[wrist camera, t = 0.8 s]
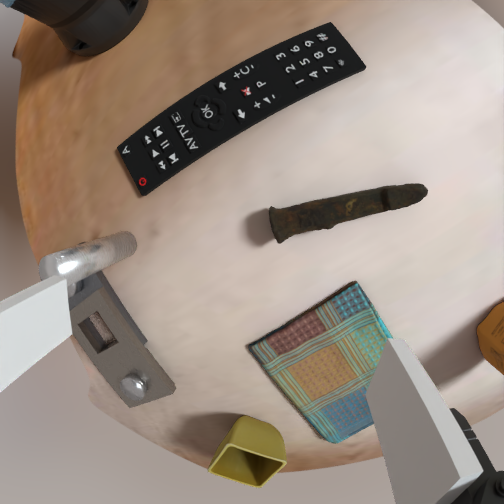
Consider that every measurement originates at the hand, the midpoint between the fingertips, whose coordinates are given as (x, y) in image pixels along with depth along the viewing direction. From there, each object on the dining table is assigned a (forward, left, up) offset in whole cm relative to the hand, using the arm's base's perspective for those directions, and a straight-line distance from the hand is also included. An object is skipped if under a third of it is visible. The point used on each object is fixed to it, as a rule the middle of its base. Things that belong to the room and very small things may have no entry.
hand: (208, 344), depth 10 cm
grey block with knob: (+3, -27, -25) cm, 37 cm away
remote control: (-16, +6, -26) cm, 31 cm away
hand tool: (+1, +11, -26) cm, 28 cm away
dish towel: (+22, 0, -26) cm, 34 cm away
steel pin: (-9, -16, -25) cm, 31 cm away
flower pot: (+25, -17, -25) cm, 40 cm away
